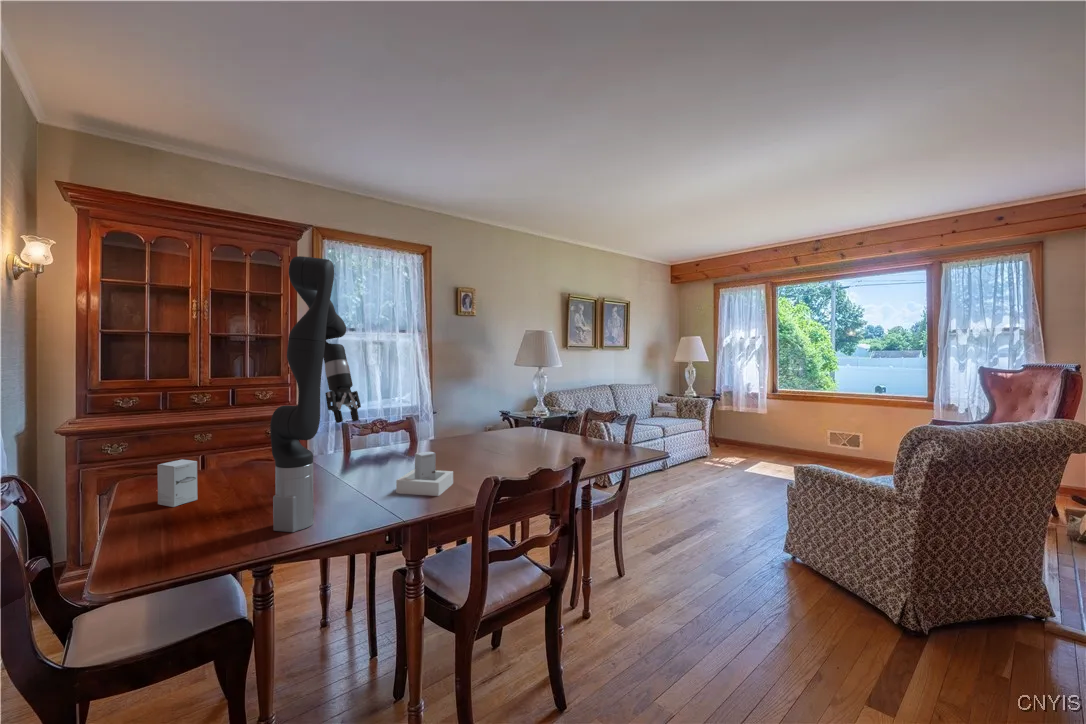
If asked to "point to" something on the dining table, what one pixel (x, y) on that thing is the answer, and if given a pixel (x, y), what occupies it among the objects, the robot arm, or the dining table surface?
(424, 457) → the skincare box
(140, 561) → the dining table surface
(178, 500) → the supplement box
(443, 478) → the well holder
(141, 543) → the dining table surface
